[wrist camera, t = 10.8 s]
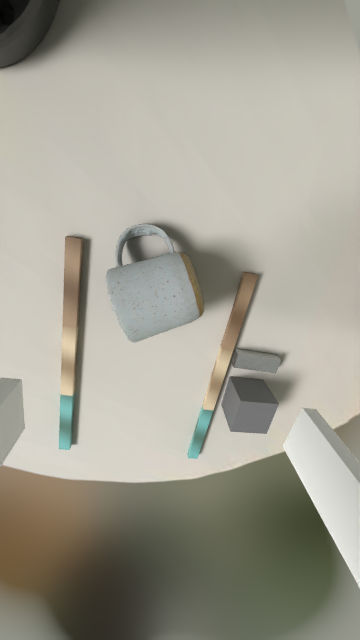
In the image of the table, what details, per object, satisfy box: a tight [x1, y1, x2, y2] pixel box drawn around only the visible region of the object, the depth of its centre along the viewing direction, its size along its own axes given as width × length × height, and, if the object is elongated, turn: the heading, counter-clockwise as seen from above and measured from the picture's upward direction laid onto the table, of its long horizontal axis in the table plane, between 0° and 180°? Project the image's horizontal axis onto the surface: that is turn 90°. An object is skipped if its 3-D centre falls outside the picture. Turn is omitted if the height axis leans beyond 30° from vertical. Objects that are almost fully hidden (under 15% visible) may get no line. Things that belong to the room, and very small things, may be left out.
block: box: [221, 377, 279, 434], centre depth 33 cm, size 5×5×5 cm
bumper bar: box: [231, 349, 281, 373], centre depth 32 cm, size 2×6×2 cm, turn 78°
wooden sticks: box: [59, 236, 258, 459], centre depth 32 cm, size 30×21×1 cm
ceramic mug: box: [106, 224, 204, 342], centre depth 24 cm, size 11×8×8 cm
